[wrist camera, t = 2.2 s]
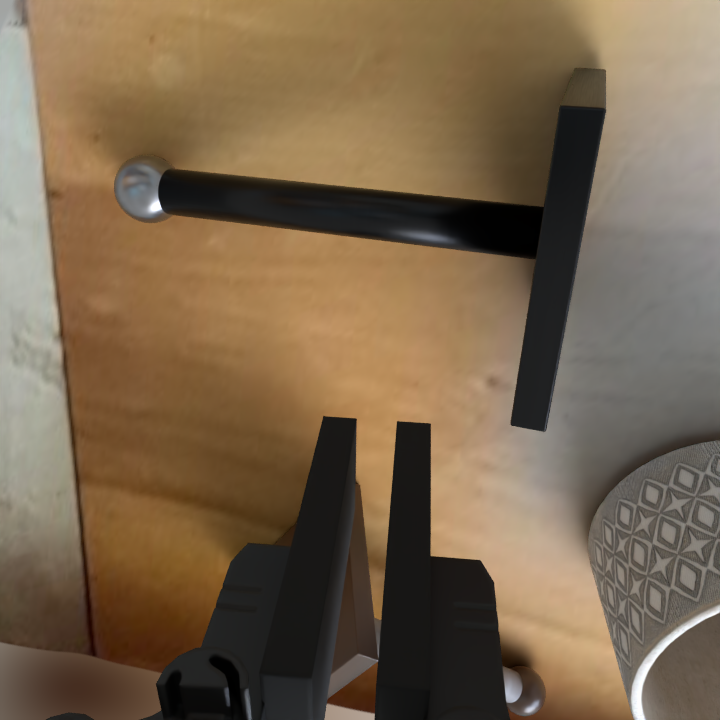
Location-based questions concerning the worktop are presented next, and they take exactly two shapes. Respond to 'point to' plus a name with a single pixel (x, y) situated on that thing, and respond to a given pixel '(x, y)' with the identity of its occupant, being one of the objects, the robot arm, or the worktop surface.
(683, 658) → the planter
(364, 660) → the paper towel stand
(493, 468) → the worktop surface
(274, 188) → the black holder
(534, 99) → the worktop surface
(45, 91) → the worktop surface
